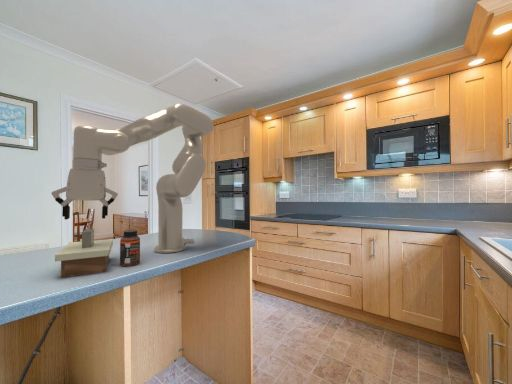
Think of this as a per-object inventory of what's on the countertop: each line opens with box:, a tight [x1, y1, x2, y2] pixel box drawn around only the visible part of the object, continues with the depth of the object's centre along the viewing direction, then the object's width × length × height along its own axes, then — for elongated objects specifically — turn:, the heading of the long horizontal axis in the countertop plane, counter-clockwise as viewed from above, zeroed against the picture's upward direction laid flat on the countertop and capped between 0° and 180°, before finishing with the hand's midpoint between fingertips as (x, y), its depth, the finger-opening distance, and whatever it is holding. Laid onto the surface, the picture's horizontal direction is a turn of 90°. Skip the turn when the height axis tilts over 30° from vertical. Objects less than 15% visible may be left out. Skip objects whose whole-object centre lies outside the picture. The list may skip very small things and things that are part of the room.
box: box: [60, 255, 110, 278], centre depth 76 cm, size 16×11×6 cm
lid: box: [54, 228, 114, 262], centre depth 76 cm, size 18×13×7 cm
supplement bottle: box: [119, 229, 141, 267], centre depth 79 cm, size 6×6×11 cm
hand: (85, 218), depth 75 cm, fingers open, 9 cm apart
